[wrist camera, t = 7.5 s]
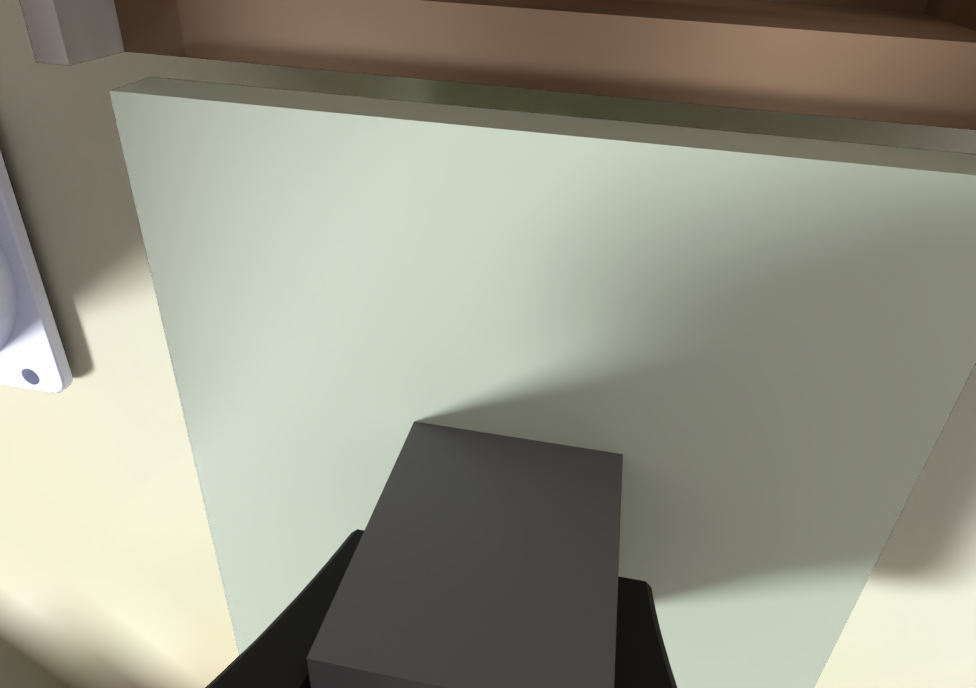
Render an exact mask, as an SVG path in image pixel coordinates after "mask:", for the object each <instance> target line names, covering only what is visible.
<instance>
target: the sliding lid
mask: <svg viewBox="0 0 976 688" xmlns="http://www.w3.org/2000/svg"><path fill="white" fill-rule="evenodd" d="M109 94H110V98H111V102H112V107H113V111H114V115H115V120H116V124H117V128H118V133H119V137H120V141H121V146H122V150H123V154H124V159H125V163H126V167H127V172H128V176H129V180H130V185H131V189H132V193H133V198H134V202H135V206H136V211H137V215H138V219H139V224H140V228H141V232H142V237H143V241H144V245H145V250H146V254H147V258H148V263H149V267H150V271H151V276H152V280H153V284H154V289H155V293H156V297H157V302H158V306H159V310H160V315H161V319H162V323H163V327H164V332H165V336H166V340H167V345H168V349H169V353H170V358H171V362H172V366H173V371H174V375H175V379H176V384H177V388H178V392H179V397H180V401H181V405H182V410H183V414H184V418H185V423H186V427H187V431H188V436H189V440H190V444H191V449H192V453H193V457H194V462H195V466H196V470H197V475H198V479H199V483H200V488H201V492H202V496H203V501H204V505H205V509H206V514H207V518H208V522H209V527H210V531H211V535H212V540H213V544H214V548H215V553H216V557H217V561H218V565H219V570H220V574H221V578H222V583H223V587H224V591H225V596H226V600H227V604H228V609H229V613H230V617H231V622H232V626H233V630H234V635H235V639H236V643H237V648H238V652H239V655H240V654H241V653H242V652H243V651H244V650H245V649H247V648H248V647H249V646H250V645H251V644H252V643H253V642H254V641H255V640H256V639H257V638H258V637H259V636H260V635H261V634H262V633H263V632H264V631H265V630H266V629H267V628H268V626H269V625H270V624H271V623H272V622H273V621H274V620H275V619H276V618H277V617H278V616H279V615H280V614H281V613H282V612H283V611H284V610H285V608H286V607H287V606H288V605H289V604H290V603H291V602H292V601H293V600H294V599H295V598H296V597H297V596H298V595H299V594H300V592H301V591H302V590H303V589H304V588H305V587H306V586H307V585H308V583H309V582H310V581H311V580H312V579H313V578H314V577H315V576H316V574H317V573H318V572H319V571H320V570H321V569H322V567H323V566H324V565H325V564H326V563H327V562H328V560H329V559H330V558H331V557H332V556H333V554H334V553H335V552H336V551H337V550H338V548H339V547H340V546H341V545H342V544H343V542H344V541H345V540H346V539H347V537H348V536H349V535H350V534H351V533H352V532H353V531H355V530H357V529H359V530H365V531H364V533H363V535H362V537H361V539H360V542H359V544H358V546H357V548H356V550H355V553H354V555H353V557H352V559H351V561H350V564H349V566H348V568H347V570H346V572H345V575H344V577H343V579H342V581H341V583H340V586H339V588H338V590H337V592H336V594H335V597H334V599H333V601H332V603H331V605H330V608H329V610H328V612H327V614H326V616H325V619H324V621H323V623H322V625H321V627H320V630H319V632H318V634H317V636H316V639H315V641H314V643H313V645H312V647H311V650H310V652H309V654H308V656H307V658H306V659H307V665H308V672H309V679H310V686H311V688H614V677H615V651H616V624H617V598H618V576H619V577H625V578H631V579H636V580H642V581H646V582H647V583H648V584H649V585H650V586H651V588H652V593H653V599H654V604H655V609H656V613H657V618H658V622H659V626H660V630H661V634H662V638H663V642H664V645H665V649H666V652H667V655H668V659H669V662H670V666H671V669H672V672H673V675H674V678H675V682H676V685H677V688H814V687H815V685H816V683H817V681H818V679H819V677H820V675H821V673H822V671H823V669H824V667H825V665H826V663H827V661H828V659H829V657H830V655H831V653H832V651H833V649H834V647H835V645H836V643H837V640H838V638H839V636H840V634H841V632H842V630H843V628H844V626H845V624H846V622H847V620H848V618H849V616H850V614H851V612H852V610H853V608H854V606H855V604H856V602H857V600H858V598H859V596H860V594H861V592H862V590H863V588H864V586H865V584H866V582H867V580H868V578H869V576H870V574H871V572H872V570H873V568H874V566H875V564H876V562H877V560H878V558H879V556H880V554H881V552H882V550H883V548H884V546H885V544H886V542H887V540H888V538H889V536H890V534H891V532H892V530H893V528H894V526H895V524H896V522H897V520H898V518H899V516H900V514H901V512H902V510H903V508H904V506H905V504H906V502H907V500H908V498H909V496H910V494H911V492H912V490H913V488H914V486H915V484H916V482H917V480H918V478H919V476H920V474H921V472H922V470H923V468H924V466H925V464H926V462H927V460H928V458H929V456H930V454H931V452H932V450H933V448H934V446H935V444H936V442H937V440H938V437H939V435H940V433H941V431H942V429H943V427H944V425H945V423H946V421H947V419H948V417H949V415H950V413H951V411H952V409H953V407H954V405H955V403H956V401H957V399H958V397H959V395H960V393H961V391H962V389H963V387H964V385H965V383H966V381H967V379H968V377H969V375H970V373H971V371H972V369H973V367H974V365H975V363H976V154H967V153H956V152H945V151H935V150H924V149H913V148H903V147H892V146H881V145H871V144H860V143H850V142H839V141H828V140H818V139H807V138H796V137H786V136H775V135H764V134H754V133H743V132H732V131H722V130H711V129H700V128H690V127H679V126H668V125H658V124H647V123H636V122H626V121H615V120H604V119H594V118H583V117H572V116H562V115H551V114H540V113H530V112H519V111H508V110H498V109H487V108H476V107H466V106H455V105H444V104H434V103H423V102H412V101H402V100H391V99H380V98H370V97H359V96H349V95H338V94H327V93H317V92H306V91H295V90H285V89H274V88H263V87H253V86H242V85H231V84H221V83H210V82H199V81H189V80H178V79H167V78H157V77H150V78H146V79H143V80H140V81H137V82H134V83H131V84H128V85H125V86H122V87H119V88H116V89H113V90H110V91H109Z"/></svg>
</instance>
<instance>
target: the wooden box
mask: <svg viewBox="0 0 976 688" xmlns="http://www.w3.org/2000/svg"><path fill="white" fill-rule="evenodd" d="M19 1H20V5H21V8H22V12H23V16H24V19H25V23H26V27H27V30H28V34H29V38H30V41H31V45H32V49H33V52H34V56H35V59H36V62H37V63H48V64H58V65H68V66H70V65H74V64H78V63H81V62H85V61H89V60H93V59H97V58H101V57H105V56H109V55H113V54H117V53H121V52H136V53H146V54H157V55H168V56H179V57H190V58H201V59H211V60H222V61H233V62H244V63H255V64H266V65H276V66H287V67H298V68H309V69H320V70H331V71H341V72H352V73H363V74H374V75H385V76H396V77H407V78H417V79H428V80H439V81H450V82H461V83H472V84H482V85H493V86H504V87H515V88H526V89H537V90H547V91H558V92H569V93H580V94H591V95H602V96H613V97H623V98H634V99H645V100H656V101H667V102H678V103H688V104H699V105H710V106H721V107H732V108H743V109H753V110H764V111H775V112H786V113H797V114H808V115H818V116H829V117H840V118H851V119H862V120H873V121H884V122H894V123H905V124H916V125H927V126H938V127H949V128H959V129H970V130H976V0H19Z"/></svg>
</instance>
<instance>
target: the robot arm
mask: <svg viewBox="0 0 976 688" xmlns="http://www.w3.org/2000/svg"><path fill="white" fill-rule="evenodd" d="M71 383H72V374H71V370H70V367H69V364H68V361H67V358H66V355H65V352H64V348H63V345H62V342H61V339H60V336H59V333H58V330H57V327H56V323H55V320H54V317H53V314H52V311H51V308H50V305H49V302H48V298H47V295H46V292H45V289H44V286H43V283H42V280H41V276H40V273H39V270H38V267H37V264H36V261H35V258H34V255H33V251H32V248H31V245H30V242H29V239H28V236H27V233H26V230H25V226H24V223H23V220H22V217H21V214H20V211H19V208H18V204H17V201H16V198H15V195H14V192H13V189H12V186H11V183H10V179H9V176H8V173H7V170H6V167H5V164H4V161H3V158H2V154H1V151H0V384H2V385H8V386H14V387H20V388H26V389H33V390H39V391H45V392H51V393H60V392H61V391H63V390H64V389H66V388H67V387H68V386H69V385H71ZM364 531H365V530H359V529H357V530H355V531H353V532H352V533H351V534H350V535H349V536H348V537H347V539H346V540H345V541H344V542H343V544H342V545H341V546H340V547H339V548H338V550H337V551H336V552H335V553H334V554H333V556H332V557H331V558H330V559H329V560H328V562H327V563H326V564H325V565H324V566H323V567H322V569H321V570H320V571H319V572H318V573H317V574H316V576H315V577H314V578H313V579H312V580H311V581H310V582H309V583H308V585H307V586H306V587H305V588H304V589H303V590H302V591H301V592H300V594H299V595H298V596H297V597H296V598H295V599H294V600H293V601H292V602H291V603H290V604H289V605H288V606H287V607H286V608H285V610H284V611H283V612H282V613H281V614H280V615H279V616H278V617H277V618H276V619H275V620H274V621H273V622H272V623H271V624H270V625H269V626H268V628H267V629H266V630H265V631H264V632H263V633H262V634H261V635H260V636H259V637H258V638H257V639H256V640H255V641H254V642H253V643H252V644H251V645H250V646H249V647H248V648H247V649H245V650H244V651H243V652H242V653H241V654H240V655H239V656H238V657H237V658H236V659H235V660H234V661H233V662H232V663H231V664H230V665H229V666H228V667H227V668H226V669H225V670H224V671H223V672H222V673H221V674H220V675H219V676H217V677H216V678H215V679H214V680H213V681H212V682H211V683H210V684H209V685H208V686H207V687H206V688H311V686H310V679H309V672H308V665H307V659H306V658H307V656H308V654H309V652H310V650H311V647H312V645H313V643H314V641H315V639H316V636H317V634H318V632H319V630H320V627H321V625H322V623H323V621H324V619H325V616H326V614H327V612H328V610H329V608H330V605H331V603H332V601H333V599H334V597H335V594H336V592H337V590H338V588H339V586H340V583H341V581H342V579H343V577H344V575H345V572H346V570H347V568H348V566H349V564H350V561H351V559H352V557H353V555H354V553H355V550H356V548H357V546H358V544H359V542H360V539H361V537H362V535H363V533H364ZM614 688H677V685H676V682H675V678H674V675H673V672H672V669H671V666H670V662H669V659H668V655H667V652H666V649H665V645H664V642H663V638H662V634H661V630H660V626H659V622H658V618H657V613H656V609H655V604H654V599H653V593H652V588H651V586H650V585H649V584H648V583H647V582H646V581H642V580H636V579H631V578H625V577H619V576H618V598H617V624H616V651H615V677H614Z"/></svg>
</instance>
